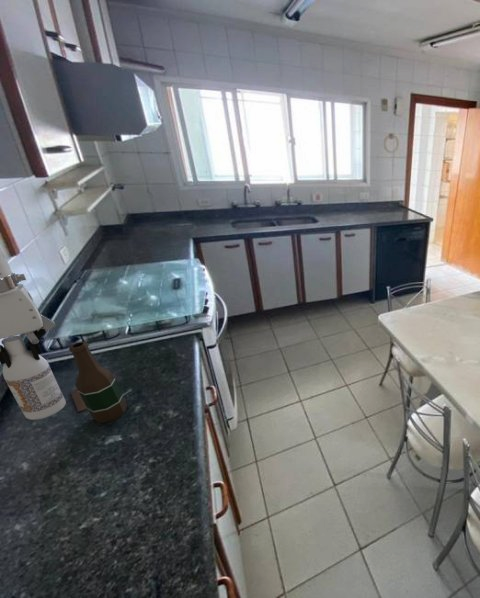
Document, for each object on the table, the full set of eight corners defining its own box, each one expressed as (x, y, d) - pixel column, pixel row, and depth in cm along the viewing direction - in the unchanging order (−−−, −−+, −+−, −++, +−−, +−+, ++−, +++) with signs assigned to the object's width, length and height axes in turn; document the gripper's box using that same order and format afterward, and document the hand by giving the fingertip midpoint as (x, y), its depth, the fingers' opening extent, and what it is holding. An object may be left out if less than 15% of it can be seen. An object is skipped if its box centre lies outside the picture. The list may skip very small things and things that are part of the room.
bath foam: (21, 412, 77) (-18, 340, 69) (60, 396, 83) (28, 327, 75) (31, 425, 74) (-9, 351, 66) (71, 407, 80) (39, 337, 71)
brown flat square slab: (78, 412, 95) (78, 411, 94) (70, 392, 101) (70, 391, 101) (129, 392, 103) (129, 391, 103) (119, 375, 110) (118, 374, 110)
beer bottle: (109, 403, 98) (76, 335, 88) (134, 404, 98) (105, 337, 88) (86, 423, 91) (47, 352, 81) (113, 424, 91) (78, 354, 81)
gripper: (44, 271, 73) (71, 340, 81) (-82, 289, 61) (-36, 369, 69) (49, 281, 69) (77, 353, 77) (-85, 302, 57) (-36, 386, 65)
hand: (23, 360), depth 73 cm, fingers closed on bath foam, 3 cm apart
